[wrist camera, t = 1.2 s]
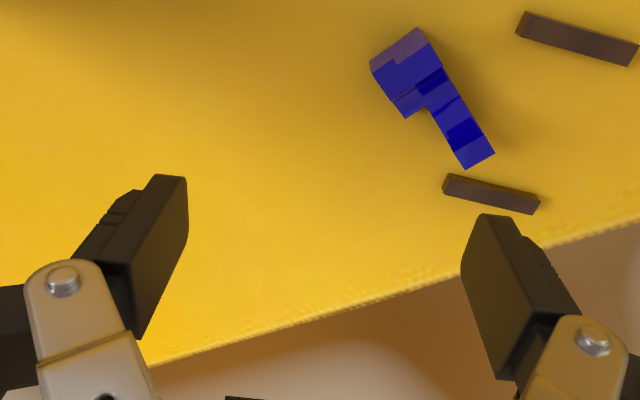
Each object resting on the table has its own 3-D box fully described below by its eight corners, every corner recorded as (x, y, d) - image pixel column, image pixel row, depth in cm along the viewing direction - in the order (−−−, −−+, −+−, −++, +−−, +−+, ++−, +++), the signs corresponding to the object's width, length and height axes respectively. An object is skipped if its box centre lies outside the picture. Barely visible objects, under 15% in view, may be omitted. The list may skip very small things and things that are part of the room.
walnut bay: (440, 187, 33) (443, 194, 32) (524, 10, 26) (531, 13, 25) (527, 208, 33) (532, 216, 32) (631, 41, 27) (641, 45, 26)
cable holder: (368, 61, 28) (373, 81, 24) (417, 26, 27) (429, 42, 23) (431, 153, 31) (443, 182, 28) (477, 126, 30) (495, 153, 26)
